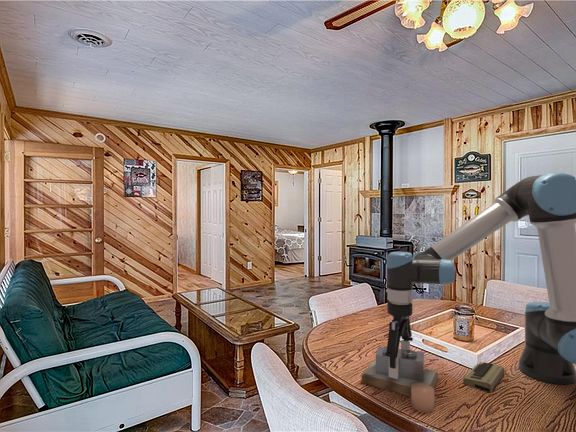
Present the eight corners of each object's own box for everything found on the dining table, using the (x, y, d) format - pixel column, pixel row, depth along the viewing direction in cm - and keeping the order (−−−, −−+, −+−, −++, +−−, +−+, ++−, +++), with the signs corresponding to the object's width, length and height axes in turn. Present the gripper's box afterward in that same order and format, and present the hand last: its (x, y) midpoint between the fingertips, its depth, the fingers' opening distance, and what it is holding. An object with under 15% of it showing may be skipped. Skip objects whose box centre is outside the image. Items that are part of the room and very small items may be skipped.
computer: (477, 367, 119) (477, 358, 119) (504, 375, 113) (504, 365, 113) (462, 384, 108) (462, 374, 108) (491, 394, 102) (491, 383, 102)
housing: (375, 373, 108) (375, 352, 108) (378, 364, 115) (378, 343, 115) (423, 381, 103) (423, 359, 103) (423, 371, 110) (423, 350, 109)
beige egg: (436, 404, 97) (436, 386, 97) (431, 415, 92) (432, 396, 92) (414, 398, 100) (414, 380, 100) (408, 408, 95) (408, 390, 95)
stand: (438, 380, 110) (438, 371, 109) (428, 401, 98) (428, 391, 98) (376, 365, 121) (376, 356, 120) (361, 382, 109) (361, 373, 109)
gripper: (398, 291, 121) (398, 351, 121) (374, 309, 100) (374, 382, 101) (421, 294, 117) (421, 356, 117) (400, 314, 96) (401, 389, 97)
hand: (399, 368), depth 109 cm, fingers open, 13 cm apart
